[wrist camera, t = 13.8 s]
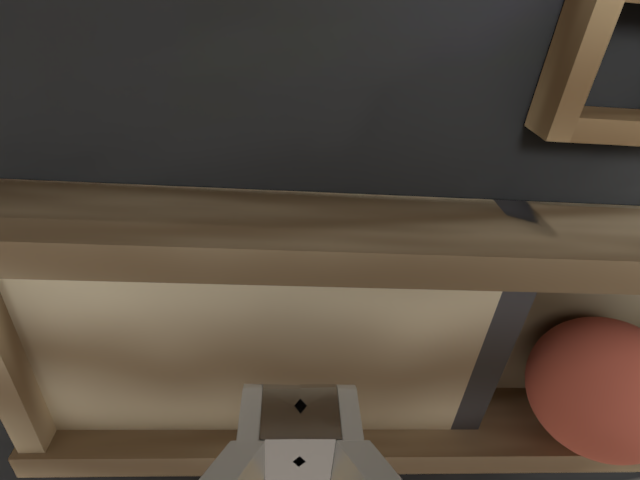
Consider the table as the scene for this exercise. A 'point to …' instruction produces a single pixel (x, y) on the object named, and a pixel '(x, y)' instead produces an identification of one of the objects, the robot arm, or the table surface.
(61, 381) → the tray
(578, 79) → the hollow square frame
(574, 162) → the table surface
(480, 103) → the table surface
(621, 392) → the ball
